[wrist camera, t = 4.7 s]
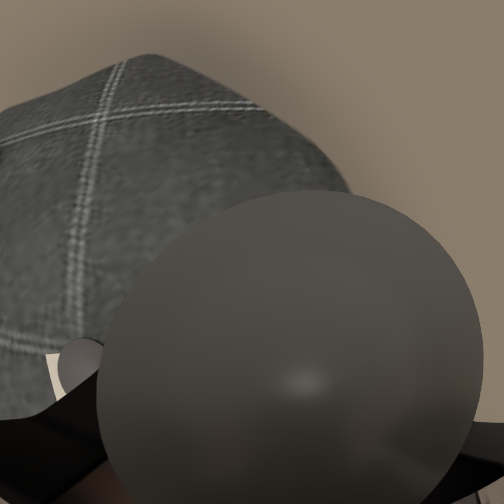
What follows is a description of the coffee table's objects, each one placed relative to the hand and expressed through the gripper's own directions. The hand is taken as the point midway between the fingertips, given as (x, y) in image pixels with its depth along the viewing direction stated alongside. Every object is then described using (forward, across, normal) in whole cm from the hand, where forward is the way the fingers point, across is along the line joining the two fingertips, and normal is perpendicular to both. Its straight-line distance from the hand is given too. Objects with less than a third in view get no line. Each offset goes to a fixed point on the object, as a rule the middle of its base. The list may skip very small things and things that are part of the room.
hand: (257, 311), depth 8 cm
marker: (+4, 0, +6) cm, 7 cm away
